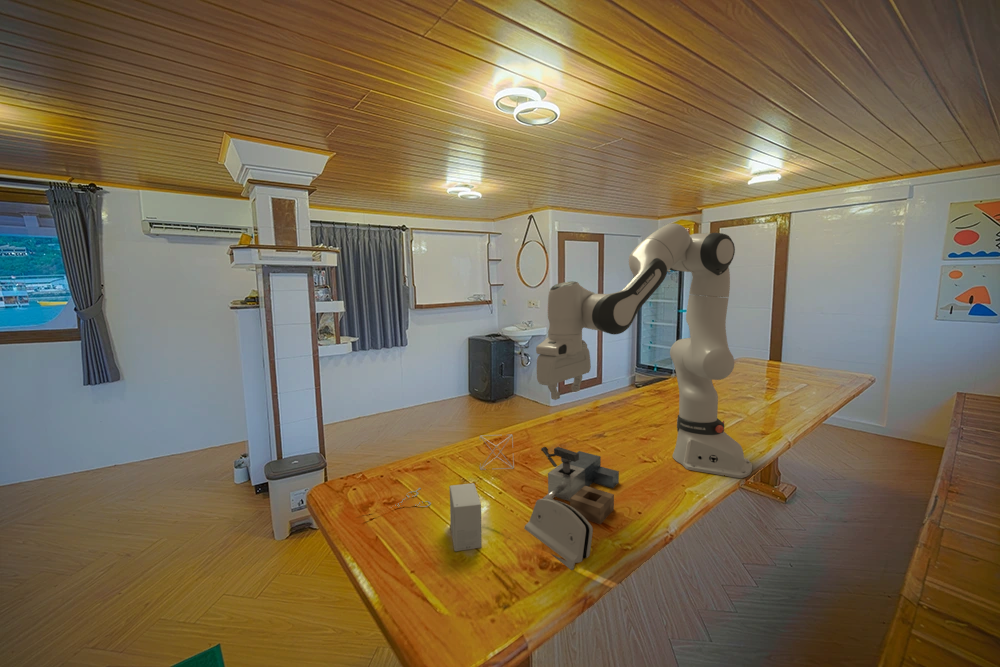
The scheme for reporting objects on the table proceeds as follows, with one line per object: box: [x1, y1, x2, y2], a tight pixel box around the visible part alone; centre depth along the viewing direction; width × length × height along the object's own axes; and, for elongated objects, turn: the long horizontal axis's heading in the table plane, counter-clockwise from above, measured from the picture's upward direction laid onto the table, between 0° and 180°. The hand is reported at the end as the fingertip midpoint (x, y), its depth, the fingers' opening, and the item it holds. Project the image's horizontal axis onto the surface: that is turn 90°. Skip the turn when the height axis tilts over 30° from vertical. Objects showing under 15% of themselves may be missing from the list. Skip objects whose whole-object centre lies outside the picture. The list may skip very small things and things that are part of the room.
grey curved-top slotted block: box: [524, 498, 594, 571], centre depth 92 cm, size 17×5×10 cm, turn 35°
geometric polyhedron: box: [479, 434, 515, 471], centre depth 134 cm, size 12×11×9 cm
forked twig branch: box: [540, 446, 558, 468], centre depth 135 cm, size 24×10×2 cm, turn 11°
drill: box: [542, 450, 620, 502], centre depth 112 cm, size 25×13×7 cm, turn 142°
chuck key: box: [553, 446, 579, 475], centre depth 112 cm, size 3×7×11 cm, turn 44°
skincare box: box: [449, 482, 483, 552], centre depth 96 cm, size 10×6×10 cm, turn 12°
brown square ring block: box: [569, 486, 615, 525], centre depth 103 cm, size 8×8×5 cm
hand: (565, 395), depth 110 cm, fingers open, 8 cm apart
